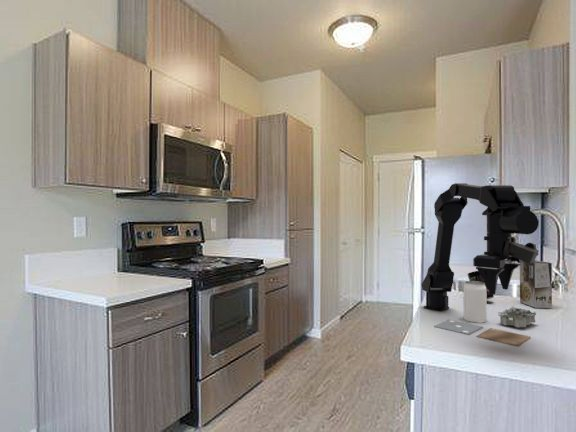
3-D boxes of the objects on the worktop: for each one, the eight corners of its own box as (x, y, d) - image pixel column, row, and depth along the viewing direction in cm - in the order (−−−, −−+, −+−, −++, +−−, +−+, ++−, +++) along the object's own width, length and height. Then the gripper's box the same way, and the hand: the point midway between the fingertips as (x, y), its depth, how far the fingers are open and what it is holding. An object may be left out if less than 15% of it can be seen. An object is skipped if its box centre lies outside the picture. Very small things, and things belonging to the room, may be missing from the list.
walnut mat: (476, 338, 99) (476, 335, 99) (490, 330, 106) (490, 328, 106) (518, 347, 92) (518, 345, 92) (530, 338, 98) (530, 336, 98)
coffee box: (552, 308, 131) (552, 262, 131) (534, 308, 131) (534, 262, 131) (536, 302, 140) (536, 259, 140) (519, 302, 140) (518, 259, 140)
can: (481, 317, 119) (481, 280, 119) (490, 323, 112) (490, 284, 112) (460, 317, 119) (460, 280, 119) (468, 323, 113) (468, 284, 113)
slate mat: (433, 327, 108) (433, 325, 108) (449, 321, 115) (449, 319, 115) (468, 336, 101) (468, 333, 101) (483, 328, 107) (483, 326, 107)
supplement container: (489, 296, 136) (480, 269, 140) (472, 300, 140) (464, 274, 144) (497, 297, 139) (489, 270, 144) (480, 301, 144) (472, 275, 148)
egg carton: (522, 329, 105) (521, 314, 105) (496, 324, 111) (494, 310, 111) (540, 321, 110) (538, 307, 111) (513, 317, 117) (512, 304, 117)
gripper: (522, 235, 85) (522, 302, 85) (545, 232, 97) (545, 291, 97) (472, 233, 93) (472, 295, 93) (498, 231, 105) (499, 285, 105)
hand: (499, 291), depth 97 cm, fingers open, 9 cm apart
